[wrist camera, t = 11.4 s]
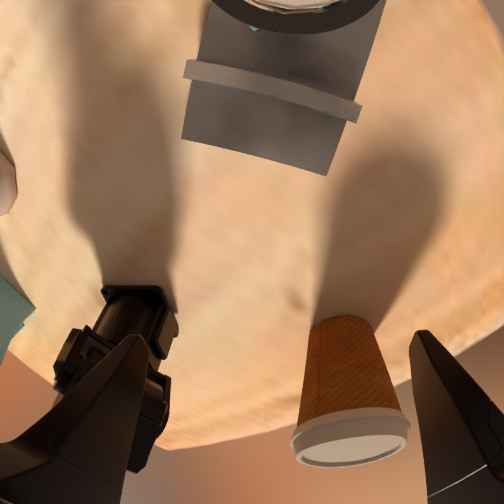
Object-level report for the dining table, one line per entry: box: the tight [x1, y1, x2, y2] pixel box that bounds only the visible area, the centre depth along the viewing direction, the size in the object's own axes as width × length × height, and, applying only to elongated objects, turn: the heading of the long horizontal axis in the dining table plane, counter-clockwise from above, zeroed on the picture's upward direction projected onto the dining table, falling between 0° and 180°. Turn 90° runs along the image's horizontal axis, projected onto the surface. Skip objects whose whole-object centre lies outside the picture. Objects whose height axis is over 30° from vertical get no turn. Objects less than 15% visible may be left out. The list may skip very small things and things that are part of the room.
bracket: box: [181, 0, 386, 176], centre depth 13 cm, size 16×9×3 cm, turn 166°
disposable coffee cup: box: [290, 316, 411, 468], centre depth 24 cm, size 10×10×12 cm
